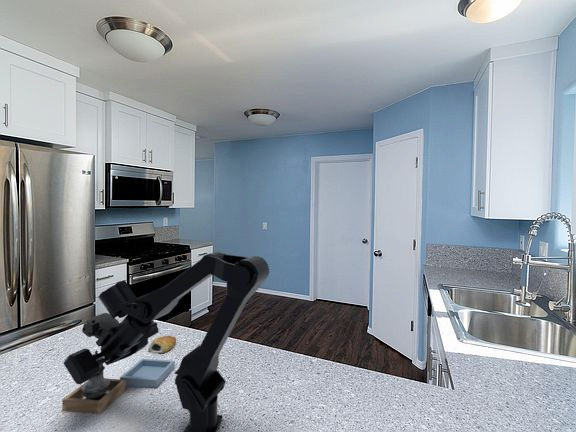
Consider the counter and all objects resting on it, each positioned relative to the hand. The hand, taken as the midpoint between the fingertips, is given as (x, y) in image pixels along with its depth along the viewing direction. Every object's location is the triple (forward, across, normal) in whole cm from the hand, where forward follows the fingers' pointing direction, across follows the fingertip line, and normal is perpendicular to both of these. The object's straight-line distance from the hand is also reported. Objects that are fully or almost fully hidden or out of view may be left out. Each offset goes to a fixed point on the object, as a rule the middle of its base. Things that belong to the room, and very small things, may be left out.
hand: (91, 371), depth 73 cm
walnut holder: (+4, 0, +6) cm, 7 cm away
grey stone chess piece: (+4, 0, +6) cm, 7 cm away
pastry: (+7, -28, +3) cm, 29 cm away
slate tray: (0, -12, +9) cm, 15 cm away
